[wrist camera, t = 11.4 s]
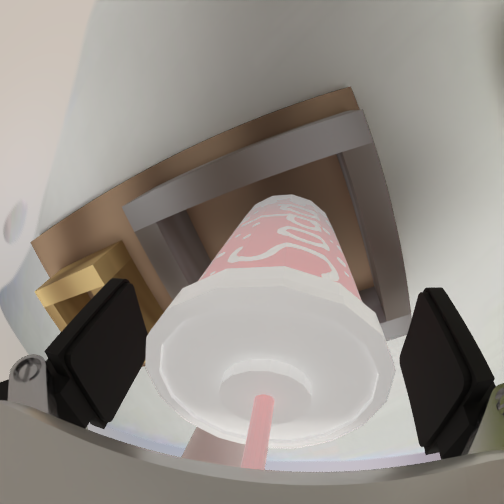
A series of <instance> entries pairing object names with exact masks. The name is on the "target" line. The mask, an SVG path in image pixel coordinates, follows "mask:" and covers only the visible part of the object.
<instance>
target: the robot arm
mask: <svg viewBox="0 0 504 504" xmlns="http://www.w3.org/2000/svg"><path fill="white" fill-rule="evenodd" d="M147 335H148V333H147V330H146V326H145V323H144V320H143V316H142V313H141V310H140V306H139V303H138V299H137V296H136V292H135V288H134V286H133V284H131V283H130V282H129V280H128V279H121V278H112V279H110V280H109V281H108V282H107V283H106V284H105V285H104V286H103V287H102V288H101V289H100V290H99V292H98V293H97V294H96V295H95V296H94V297H93V298H92V299H91V300H90V301H89V302H88V303H87V304H86V305H85V306H84V307H83V309H82V310H81V311H80V312H79V313H78V314H77V315H76V316H75V317H74V318H73V319H72V321H71V322H70V323H69V324H68V325H67V326H66V327H65V328H64V329H63V331H62V332H61V333H60V334H59V335H58V336H57V337H56V339H55V340H54V341H53V342H52V343H51V344H50V346H49V347H48V348H47V349H46V350H45V353H46V355H47V356H48V359H47V361H45V360H44V358H43V357H42V356H40V355H35V354H32V355H27V356H25V357H22V358H21V359H19V360H18V361H17V362H16V363H15V364H14V365H13V367H12V368H11V371H10V375H9V380H6V381H3V382H0V504H504V383H503V384H500V385H498V386H495V384H494V382H493V381H494V379H495V378H494V376H493V374H492V372H491V370H490V368H489V366H488V364H487V362H486V360H485V358H484V356H483V354H482V353H481V351H480V349H479V347H478V345H477V343H476V342H475V340H474V338H473V336H472V335H471V333H470V331H469V329H468V328H467V326H466V324H465V323H464V321H463V319H462V318H461V316H460V314H459V313H458V311H457V309H456V308H455V306H454V305H453V303H452V301H451V300H450V298H449V297H448V295H447V294H446V292H445V291H444V289H443V288H425V289H424V291H423V292H421V293H420V294H419V295H418V299H417V302H416V306H415V310H414V313H413V317H412V320H411V323H410V327H409V330H408V333H407V336H406V339H405V342H404V345H403V348H402V351H401V354H400V367H401V370H402V374H403V377H404V381H405V385H406V389H407V393H408V396H409V400H410V405H411V409H412V413H413V417H414V422H415V426H416V431H417V436H418V440H419V444H420V446H421V447H424V449H425V454H426V455H428V454H433V453H437V452H439V453H440V456H441V460H437V461H432V462H426V463H420V464H414V465H407V466H400V467H391V468H383V469H373V470H361V471H344V472H291V471H272V470H260V469H249V468H241V467H233V466H225V465H219V464H212V463H207V462H201V461H196V460H191V459H186V458H181V457H177V456H172V455H167V454H164V453H160V452H156V451H151V450H148V449H145V448H141V447H137V446H134V445H131V444H127V443H124V442H121V441H118V440H115V439H112V438H109V437H106V436H103V435H100V434H98V433H95V432H92V431H90V430H88V428H87V425H88V424H89V422H90V423H91V424H92V425H94V426H97V427H100V428H102V429H104V428H105V426H106V425H107V423H108V422H111V421H112V420H113V418H114V416H115V414H116V412H117V411H118V409H119V407H120V405H121V403H122V401H123V399H124V398H125V396H126V394H127V392H128V390H129V388H130V387H131V385H132V383H133V381H134V379H135V378H136V376H137V374H138V372H139V370H140V369H141V367H142V365H143V363H144V362H145V360H146V337H147Z"/></svg>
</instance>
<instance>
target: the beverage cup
mask: <svg viewBox="0 0 504 504" xmlns="http://www.w3.org/2000/svg"><path fill="white" fill-rule="evenodd" d="M145 369H146V371H147V373H148V375H149V377H150V379H151V381H152V383H153V385H154V386H155V388H156V390H157V392H158V394H159V396H160V397H161V398H162V399H163V400H164V401H165V402H166V403H167V404H168V405H169V406H170V407H171V408H172V409H173V410H174V411H176V412H177V413H178V414H179V415H180V416H181V417H182V418H183V419H185V420H186V421H187V422H189V423H191V424H193V425H195V426H197V427H199V428H200V429H202V430H204V431H206V432H208V433H210V434H212V435H214V436H216V437H218V438H222V439H225V440H229V441H233V442H237V443H241V444H245V448H244V453H243V458H242V463H241V468H249V469H260V470H265V464H266V458H267V451H268V448H300V447H305V446H311V445H316V444H321V443H325V442H330V441H333V440H335V439H337V438H339V437H341V436H343V435H345V434H347V433H349V432H351V431H353V430H355V429H357V428H359V427H361V426H363V425H364V424H365V423H366V422H367V421H368V420H369V419H370V418H371V417H372V416H373V415H374V414H375V413H376V412H377V411H378V410H379V409H380V408H381V407H382V406H383V405H384V404H385V403H386V402H387V399H388V395H389V392H390V389H391V385H392V382H393V378H394V375H395V371H396V370H395V366H394V362H393V359H392V356H391V353H390V351H389V348H388V345H387V342H386V339H385V337H384V334H383V331H382V328H381V326H380V323H379V321H378V318H377V316H376V313H375V312H374V311H372V310H371V309H370V308H369V307H368V306H366V305H365V304H364V303H363V302H362V300H361V297H360V295H359V292H358V290H357V287H356V284H355V282H354V279H353V277H352V274H351V271H350V269H349V266H348V264H347V261H346V259H345V256H344V254H343V252H342V249H341V247H340V244H339V242H338V240H337V237H336V235H335V233H334V230H333V228H332V226H331V224H330V222H329V220H328V218H327V216H326V214H325V212H324V211H322V210H321V209H320V208H319V207H318V206H317V205H315V204H314V203H313V202H312V201H311V200H308V199H305V198H301V197H298V196H295V195H292V194H291V195H277V196H271V197H269V198H267V199H265V200H263V201H261V202H259V203H257V204H255V206H254V207H253V208H252V209H251V210H250V212H249V213H248V214H247V215H246V216H245V218H244V219H243V220H242V222H241V223H240V224H239V226H238V227H237V228H236V230H235V231H234V232H233V234H232V235H231V236H230V238H229V239H228V240H227V242H226V243H225V245H224V246H223V247H222V249H221V250H220V251H219V253H218V254H217V255H216V257H215V258H214V260H213V261H212V262H211V264H210V265H209V266H208V268H207V269H206V271H205V272H204V273H203V275H202V276H201V277H200V279H199V280H198V282H195V283H193V284H191V285H189V286H186V287H184V288H182V290H181V291H180V292H179V293H178V295H177V296H176V297H175V299H174V300H173V301H172V303H171V304H170V305H169V306H168V308H167V309H166V310H165V312H164V313H163V314H162V316H161V317H160V318H159V320H158V321H157V322H156V324H155V325H154V326H153V328H152V329H151V330H150V332H149V334H148V335H147V337H146V360H145Z"/></svg>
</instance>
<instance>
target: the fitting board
mask: <svg viewBox="0 0 504 504" xmlns="http://www.w3.org/2000/svg"><path fill="white" fill-rule="evenodd" d="M291 194H292V195H295V196H298V197H301V198H305V199H308V200H311V201H312V202H313V203H314V204H315V205H317V206H318V207H319V208H320V209H321V210H322V211H324V212H325V214H326V216H327V218H328V220H329V222H330V224H331V226H332V228H333V230H334V233H335V235H336V237H337V240H338V242H339V244H340V247H341V249H342V252H343V254H344V256H345V259H346V261H347V264H348V266H349V269H350V271H351V274H352V277H353V279H354V282H355V284H356V287H357V290H358V292H359V295H360V297H361V300H362V302H363V303H364V304H365V305H366V306H368V307H369V308H370V309H371V310H372V311H374V312H375V313H376V316H377V318H378V321H379V323H380V326H381V328H382V331H383V334H384V337H385V339H386V341H389V340H392V339H395V338H398V337H401V336H404V335H407V333H408V330H409V327H410V323H411V320H412V318H411V309H410V301H409V293H408V286H407V280H406V273H405V267H404V262H403V256H402V251H401V245H400V240H399V235H398V231H397V226H396V222H395V217H394V213H393V209H392V204H391V200H390V196H389V193H388V189H387V185H386V181H385V178H384V174H383V171H382V167H381V164H380V160H379V157H378V154H377V151H376V147H375V144H374V141H373V138H372V135H371V132H370V129H369V126H368V124H367V121H366V118H365V115H364V112H363V110H360V109H359V107H358V104H357V102H356V99H355V96H354V94H353V91H352V89H351V87H347V88H344V89H340V90H337V91H334V92H330V93H327V94H324V95H321V96H318V97H315V98H312V99H309V100H306V101H303V102H300V103H297V104H294V105H291V106H288V107H286V108H283V109H280V110H277V111H275V112H272V113H269V114H267V115H264V116H262V117H259V118H257V119H254V120H252V121H249V122H247V123H244V124H242V125H239V126H237V127H235V128H232V129H230V130H228V131H225V132H223V133H221V134H218V135H216V136H214V137H212V138H209V139H207V140H205V141H203V142H201V143H199V144H196V145H194V146H192V147H190V148H188V149H186V150H184V151H182V152H180V153H178V154H176V155H174V156H172V157H170V158H168V159H166V160H164V161H162V162H160V163H158V164H156V165H154V166H152V167H150V168H148V169H147V170H145V171H143V172H141V173H139V174H137V175H136V176H134V177H132V178H130V179H128V180H127V181H125V182H123V183H121V184H120V185H118V186H116V187H114V188H113V189H111V190H109V191H108V192H106V193H104V194H103V195H101V196H99V197H98V198H96V199H94V200H93V201H91V202H90V203H88V204H86V205H85V206H83V207H82V208H80V209H78V210H77V211H75V212H74V213H72V214H71V215H69V216H68V217H66V218H65V219H63V220H62V221H60V222H59V223H57V224H56V225H54V226H53V227H51V228H50V229H49V230H47V231H46V232H44V233H43V234H41V235H40V236H39V237H37V238H36V239H35V240H33V241H32V242H31V244H32V246H33V248H34V250H35V252H36V254H37V256H38V258H39V259H40V261H41V263H42V265H43V267H44V268H45V270H46V272H47V274H48V275H49V277H50V279H49V280H47V281H46V282H45V283H44V284H43V285H42V286H40V287H39V288H38V289H37V290H36V291H35V293H36V295H37V297H38V298H39V300H40V301H41V303H42V304H43V306H44V308H45V309H46V311H47V312H48V314H49V315H50V317H51V318H52V320H53V321H54V322H55V324H56V325H57V327H58V328H59V330H60V331H61V332H62V331H63V329H64V328H65V327H66V326H67V325H68V324H69V323H70V322H71V321H72V319H73V318H74V317H75V316H76V315H77V314H78V313H79V312H80V311H81V310H82V309H83V307H84V306H85V305H86V304H87V303H88V302H89V301H90V300H91V299H92V298H93V297H94V296H95V295H96V294H97V293H98V292H99V290H100V289H101V288H102V287H103V286H104V285H105V284H106V283H107V282H108V281H109V280H110V279H112V278H121V279H128V280H129V282H130V283H131V284H133V286H134V288H135V292H136V296H137V299H138V303H139V306H140V310H141V313H142V316H143V320H144V323H145V326H146V330H147V333H148V334H149V332H150V330H151V329H152V328H153V326H154V325H155V324H156V322H157V321H158V320H159V318H160V317H161V316H162V314H163V313H164V312H165V310H166V309H167V308H168V306H169V305H170V304H171V303H172V301H173V300H174V299H175V297H176V296H177V295H178V293H179V292H180V291H181V290H182V288H184V287H186V286H189V285H191V284H193V283H195V282H198V280H199V279H200V277H201V276H202V275H203V273H204V272H205V271H206V269H207V268H208V266H209V265H210V264H211V262H212V261H213V260H214V258H215V257H216V255H217V254H218V253H219V251H220V250H221V249H222V247H223V246H224V245H225V243H226V242H227V240H228V239H229V238H230V236H231V235H232V234H233V232H234V231H235V230H236V228H237V227H238V226H239V224H240V223H241V222H242V220H243V219H244V218H245V216H246V215H247V214H248V213H249V212H250V210H251V209H252V208H253V207H254V206H255V204H257V203H259V202H261V201H263V200H265V199H267V198H269V197H271V196H277V195H291ZM142 366H145V362H144V363H143V365H142Z"/></svg>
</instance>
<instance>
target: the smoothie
mask: <svg viewBox="0 0 504 504" xmlns="http://www.w3.org/2000/svg"><path fill="white" fill-rule="evenodd" d="M244 448H245V444H241V443H237V442H233V441H229V440H225V439H222V438H218V437H216V436H214V435H212V434H210V433H208V432H206V431H204V430H202V429H200V428H199V427H196V429H195V431H194V433H193V435H192V437H191V439H190V441H189V443H188V445H187V447H186V449H185V451H184V453H183V455H182V457H181V458H186V459H191V460H196V461H201V462H207V463H212V464H219V465H225V466H233V467H241V463H242V458H243V453H244Z"/></svg>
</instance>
